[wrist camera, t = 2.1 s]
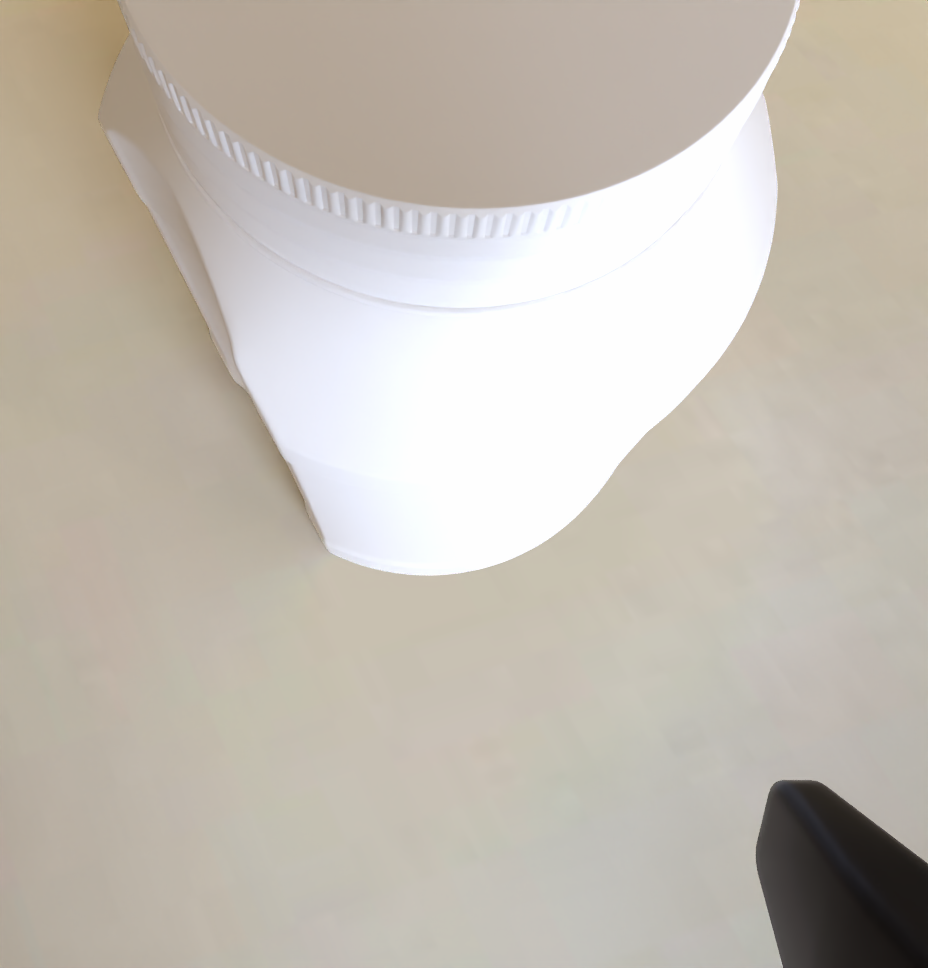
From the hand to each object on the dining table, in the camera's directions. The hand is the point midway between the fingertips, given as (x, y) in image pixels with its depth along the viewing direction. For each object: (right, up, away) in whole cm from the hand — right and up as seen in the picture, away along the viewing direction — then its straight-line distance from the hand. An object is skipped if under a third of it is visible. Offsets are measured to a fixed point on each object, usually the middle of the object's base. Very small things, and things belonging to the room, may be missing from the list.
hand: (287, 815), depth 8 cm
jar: (+1, +6, +17) cm, 18 cm away
